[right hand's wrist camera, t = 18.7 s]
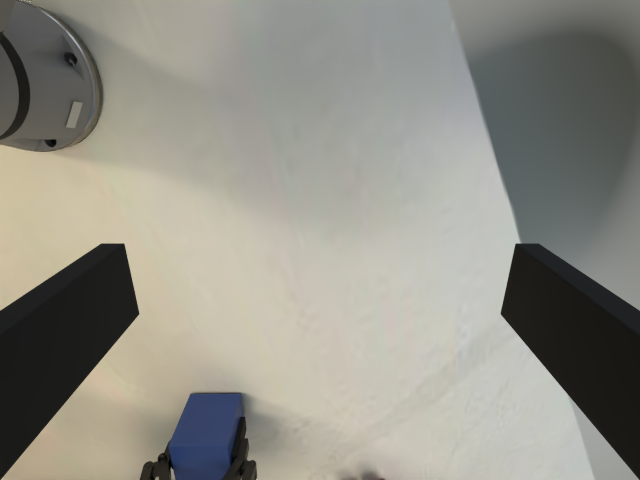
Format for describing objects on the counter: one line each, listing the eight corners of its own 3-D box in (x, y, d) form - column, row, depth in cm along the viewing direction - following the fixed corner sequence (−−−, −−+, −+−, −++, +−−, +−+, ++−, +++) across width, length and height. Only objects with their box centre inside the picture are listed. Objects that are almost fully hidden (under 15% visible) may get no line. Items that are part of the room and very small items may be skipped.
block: (245, 433, 60) (233, 489, 52) (197, 433, 60) (177, 489, 52) (240, 393, 57) (227, 445, 49) (190, 393, 57) (168, 446, 48)
